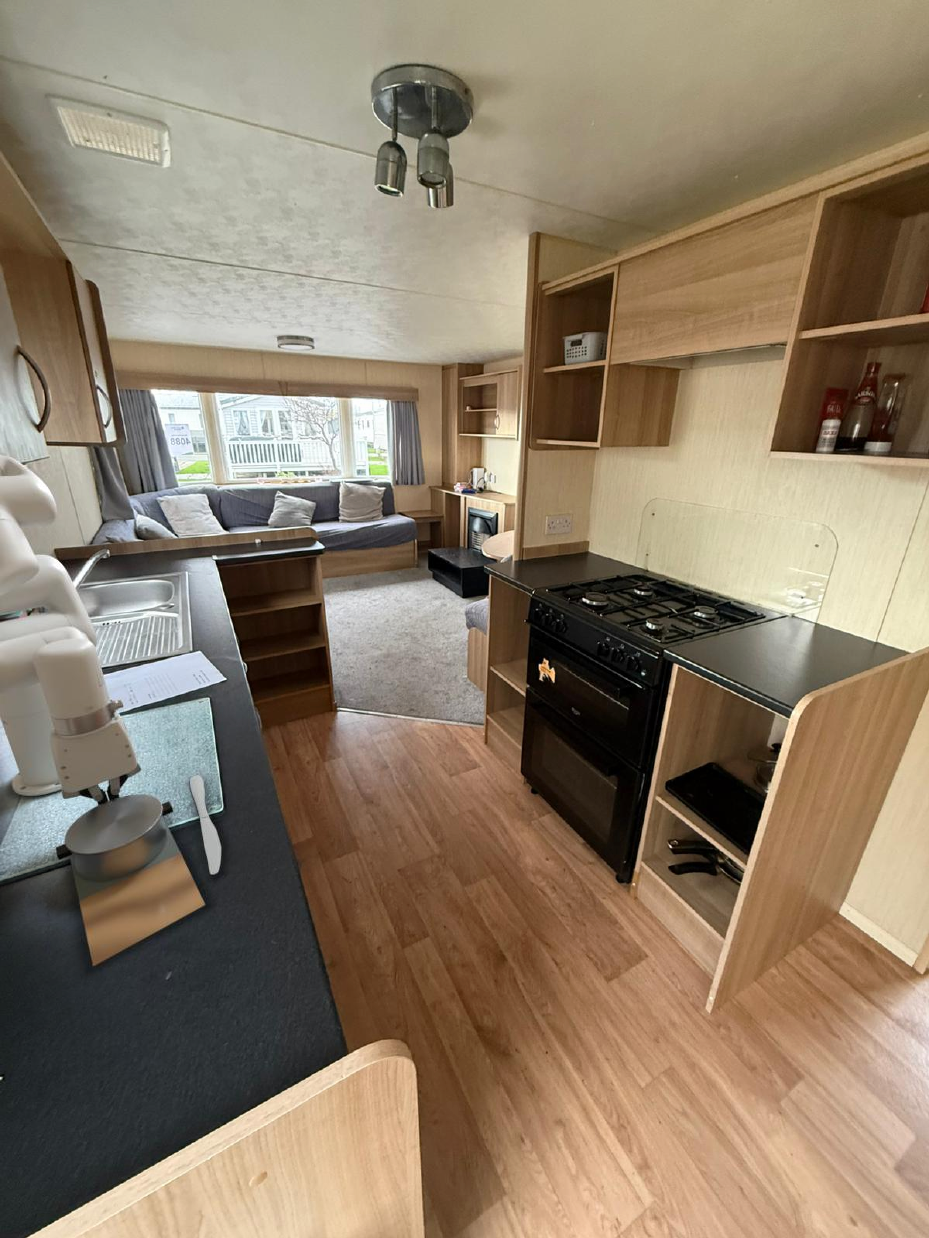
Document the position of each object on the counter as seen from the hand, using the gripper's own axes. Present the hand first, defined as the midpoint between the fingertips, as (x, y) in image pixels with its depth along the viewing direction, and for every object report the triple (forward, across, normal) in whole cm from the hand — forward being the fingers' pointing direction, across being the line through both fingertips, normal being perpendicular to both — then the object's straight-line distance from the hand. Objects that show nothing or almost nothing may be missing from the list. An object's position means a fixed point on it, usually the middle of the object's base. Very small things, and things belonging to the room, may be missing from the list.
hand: (112, 812), depth 84 cm
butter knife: (+3, -12, +9) cm, 15 cm away
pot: (+2, 0, +8) cm, 8 cm away
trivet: (+3, 0, +21) cm, 21 cm away
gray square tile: (+3, 0, +8) cm, 8 cm away
